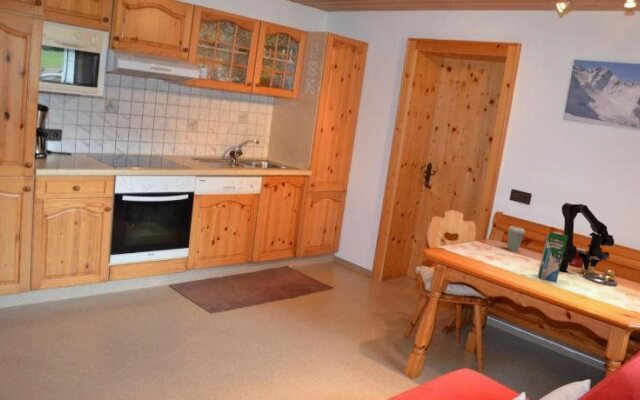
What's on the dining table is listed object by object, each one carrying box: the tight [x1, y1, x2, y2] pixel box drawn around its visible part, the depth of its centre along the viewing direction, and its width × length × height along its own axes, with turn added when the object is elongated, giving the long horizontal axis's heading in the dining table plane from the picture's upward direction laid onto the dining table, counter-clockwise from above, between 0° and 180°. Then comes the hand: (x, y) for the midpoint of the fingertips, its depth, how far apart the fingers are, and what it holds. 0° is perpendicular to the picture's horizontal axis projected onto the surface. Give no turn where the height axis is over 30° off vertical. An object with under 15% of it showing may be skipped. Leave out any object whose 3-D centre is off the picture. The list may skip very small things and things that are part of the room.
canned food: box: [568, 247, 587, 269], centre depth 354 cm, size 8×8×11 cm
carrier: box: [582, 269, 618, 287], centre depth 322 cm, size 20×18×6 cm
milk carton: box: [537, 231, 568, 283], centre depth 301 cm, size 9×9×25 cm
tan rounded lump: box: [580, 264, 596, 275], centre depth 336 cm, size 7×7×5 cm
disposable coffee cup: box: [506, 225, 526, 252], centre depth 367 cm, size 11×11×15 cm
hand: (588, 270), depth 336 cm, fingers closed on tan rounded lump, 5 cm apart
